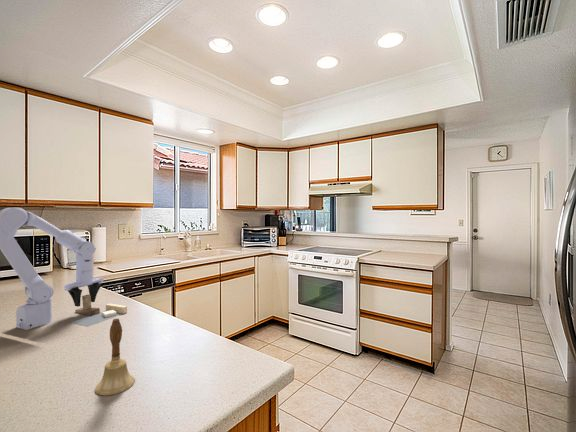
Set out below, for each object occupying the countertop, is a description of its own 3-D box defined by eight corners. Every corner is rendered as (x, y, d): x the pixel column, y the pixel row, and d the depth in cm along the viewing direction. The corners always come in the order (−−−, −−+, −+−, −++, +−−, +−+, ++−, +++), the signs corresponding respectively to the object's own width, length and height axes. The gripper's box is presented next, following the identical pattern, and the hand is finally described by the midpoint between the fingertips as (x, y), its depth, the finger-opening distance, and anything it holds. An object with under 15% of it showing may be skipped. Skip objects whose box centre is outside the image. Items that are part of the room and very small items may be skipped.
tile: (105, 317, 113) (105, 314, 113) (102, 315, 116) (102, 312, 116) (116, 315, 116) (116, 312, 116) (113, 312, 119) (113, 309, 119)
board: (87, 329, 105) (87, 319, 105) (69, 325, 108) (69, 316, 108) (126, 314, 120) (126, 306, 120) (109, 311, 123) (109, 303, 123)
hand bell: (141, 375, 75) (140, 313, 75) (124, 395, 67) (123, 325, 66) (107, 376, 75) (107, 313, 75) (86, 396, 66) (86, 326, 66)
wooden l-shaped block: (92, 315, 116) (91, 296, 116) (75, 314, 120) (74, 296, 120) (99, 312, 119) (98, 294, 119) (83, 312, 122) (81, 294, 123)
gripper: (95, 266, 128) (95, 298, 128) (59, 273, 114) (59, 308, 114) (106, 267, 125) (107, 299, 125) (71, 274, 112) (71, 310, 112)
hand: (85, 303), depth 120 cm, fingers open, 5 cm apart
